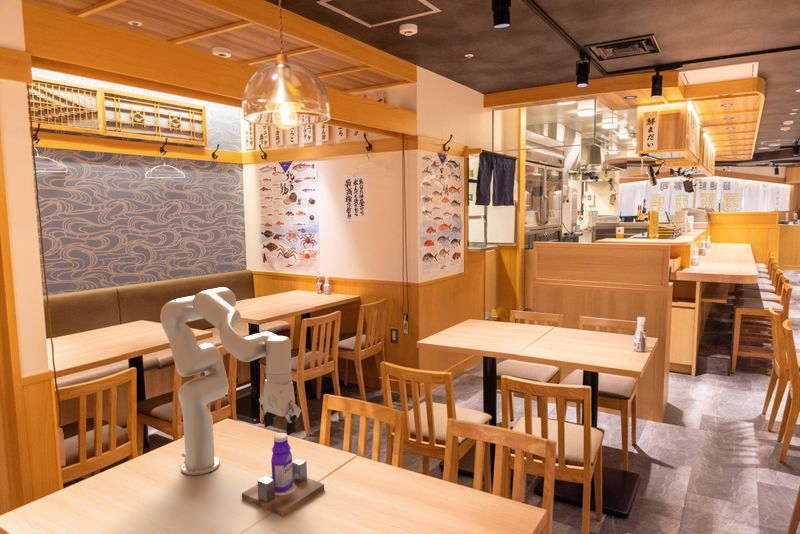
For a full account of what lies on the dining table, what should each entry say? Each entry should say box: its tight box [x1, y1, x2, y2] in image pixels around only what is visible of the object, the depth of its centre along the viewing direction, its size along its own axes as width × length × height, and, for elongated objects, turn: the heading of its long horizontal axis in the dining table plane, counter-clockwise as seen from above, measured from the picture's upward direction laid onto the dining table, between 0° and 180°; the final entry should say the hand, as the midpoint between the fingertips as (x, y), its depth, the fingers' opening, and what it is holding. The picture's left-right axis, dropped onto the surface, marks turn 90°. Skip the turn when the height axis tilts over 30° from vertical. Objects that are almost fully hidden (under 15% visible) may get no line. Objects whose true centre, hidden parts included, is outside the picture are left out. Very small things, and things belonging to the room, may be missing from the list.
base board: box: [241, 475, 325, 518], centre depth 170 cm, size 18×18×2 cm
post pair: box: [256, 458, 308, 503], centre depth 169 cm, size 4×17×6 cm, turn 146°
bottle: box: [270, 432, 293, 492], centre depth 169 cm, size 7×6×17 cm
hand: (279, 429), depth 168 cm, fingers open, 9 cm apart
